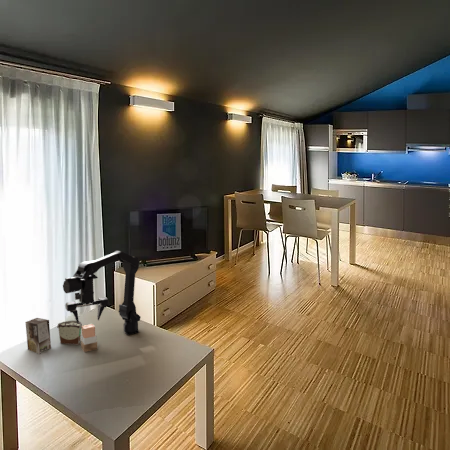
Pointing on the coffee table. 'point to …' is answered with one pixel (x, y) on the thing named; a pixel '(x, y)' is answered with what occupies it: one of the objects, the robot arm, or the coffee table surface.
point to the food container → (70, 332)
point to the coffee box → (38, 335)
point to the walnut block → (88, 346)
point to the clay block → (88, 331)
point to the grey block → (89, 340)
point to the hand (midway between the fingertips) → (88, 321)
